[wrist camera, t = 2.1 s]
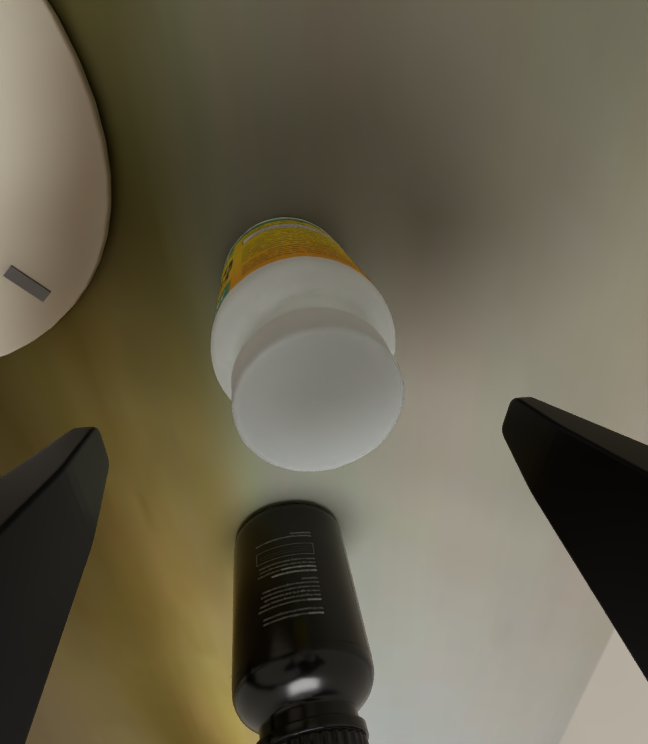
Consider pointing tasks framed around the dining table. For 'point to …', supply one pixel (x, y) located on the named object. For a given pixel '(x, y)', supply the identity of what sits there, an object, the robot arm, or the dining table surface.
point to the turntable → (46, 174)
